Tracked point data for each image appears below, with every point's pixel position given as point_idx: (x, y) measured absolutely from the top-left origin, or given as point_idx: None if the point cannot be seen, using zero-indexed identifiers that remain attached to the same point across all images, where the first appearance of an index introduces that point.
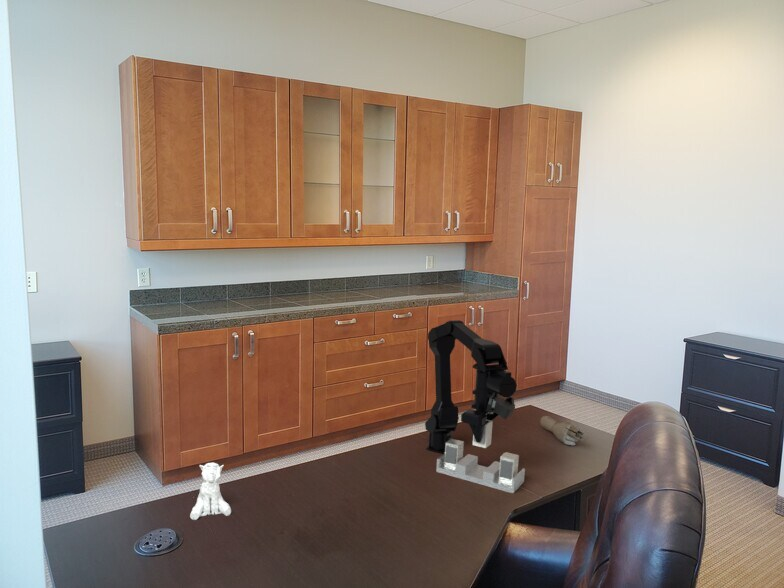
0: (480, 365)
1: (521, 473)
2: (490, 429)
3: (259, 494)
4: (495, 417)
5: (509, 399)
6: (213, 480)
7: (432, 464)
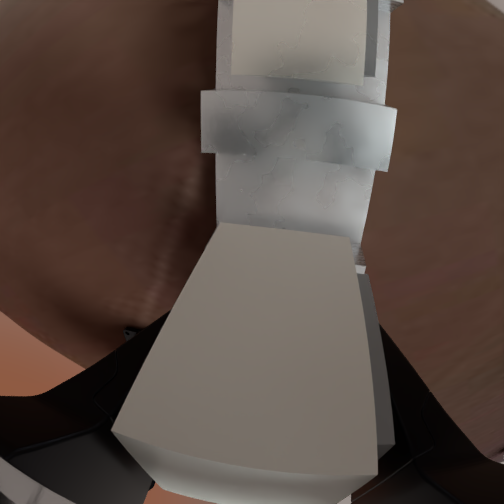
0: None
1: None
2: (219, 344)
3: (488, 445)
4: (37, 445)
5: None
6: None
7: None
